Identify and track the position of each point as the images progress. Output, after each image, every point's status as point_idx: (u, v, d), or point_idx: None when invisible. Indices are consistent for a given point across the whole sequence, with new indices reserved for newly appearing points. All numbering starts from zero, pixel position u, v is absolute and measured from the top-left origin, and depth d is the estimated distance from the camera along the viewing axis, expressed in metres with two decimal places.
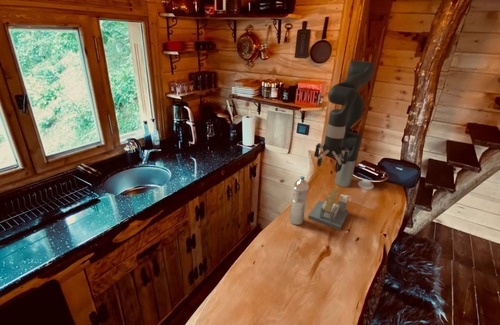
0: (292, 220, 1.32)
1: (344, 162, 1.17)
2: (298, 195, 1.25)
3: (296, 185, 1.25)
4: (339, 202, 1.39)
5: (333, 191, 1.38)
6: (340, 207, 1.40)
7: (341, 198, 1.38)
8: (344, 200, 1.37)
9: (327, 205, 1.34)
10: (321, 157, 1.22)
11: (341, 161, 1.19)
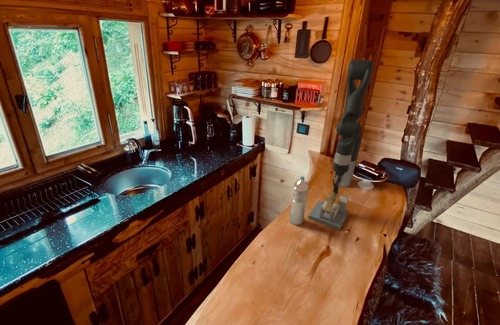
0: (292, 220, 1.32)
1: (341, 181, 1.39)
2: (298, 195, 1.25)
3: (296, 185, 1.25)
4: (339, 202, 1.39)
5: (333, 193, 1.39)
6: (340, 207, 1.40)
7: (341, 198, 1.38)
8: (344, 200, 1.37)
9: (327, 205, 1.34)
10: (339, 183, 1.37)
11: None
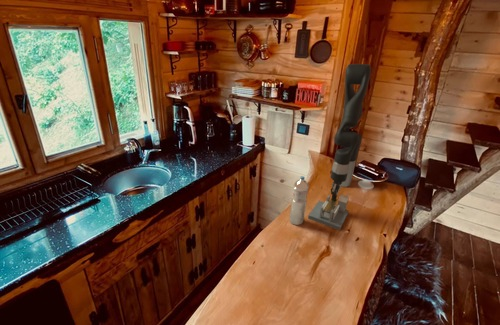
0: (292, 220, 1.32)
1: (339, 189, 1.40)
2: (298, 195, 1.25)
3: (296, 185, 1.25)
4: (339, 202, 1.39)
5: None
6: (340, 207, 1.40)
7: (341, 198, 1.38)
8: (344, 200, 1.37)
9: (327, 207, 1.35)
10: (337, 192, 1.39)
11: None
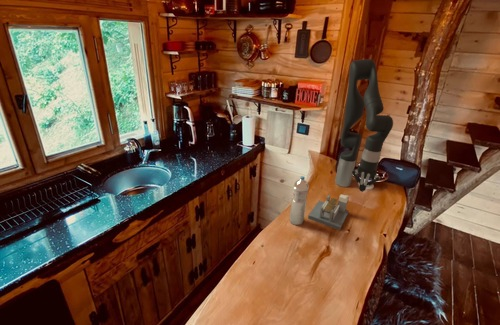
0: (292, 220, 1.32)
1: None
2: (298, 195, 1.25)
3: (296, 185, 1.25)
4: (339, 202, 1.39)
5: (332, 199, 1.42)
6: (340, 207, 1.40)
7: (341, 198, 1.38)
8: (344, 200, 1.37)
9: (327, 207, 1.35)
10: None
11: None
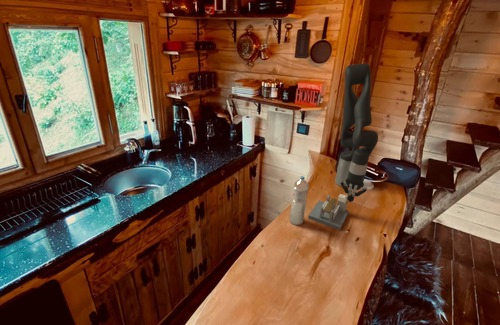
0: (292, 220, 1.32)
1: None
2: (298, 195, 1.25)
3: (296, 185, 1.25)
4: (339, 202, 1.39)
5: (332, 199, 1.42)
6: (340, 207, 1.40)
7: (340, 198, 1.38)
8: (343, 200, 1.38)
9: (327, 207, 1.35)
10: None
11: None
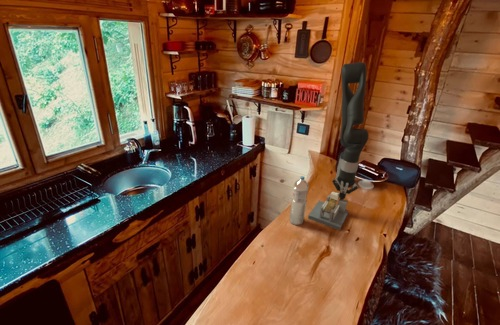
0: (292, 220, 1.32)
1: None
2: (298, 195, 1.25)
3: (296, 185, 1.25)
4: (339, 202, 1.39)
5: (332, 199, 1.42)
6: (340, 207, 1.40)
7: (332, 195, 1.40)
8: (335, 197, 1.39)
9: (327, 207, 1.35)
10: (344, 189, 1.38)
11: None
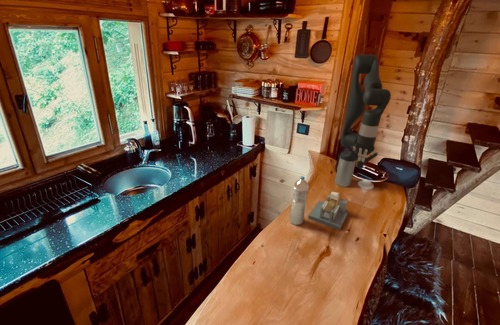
0: (292, 220, 1.32)
1: None
2: (298, 195, 1.25)
3: (296, 185, 1.25)
4: (339, 202, 1.39)
5: (332, 199, 1.42)
6: (340, 207, 1.40)
7: (332, 195, 1.40)
8: (335, 197, 1.39)
9: (327, 207, 1.35)
10: (361, 157, 1.30)
11: None
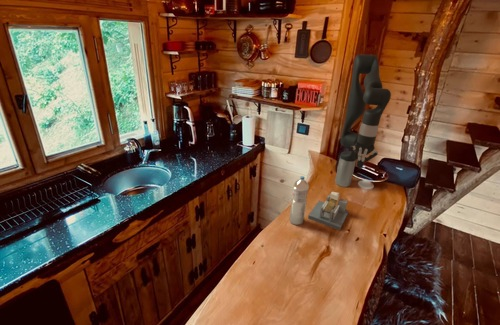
0: (292, 220, 1.32)
1: None
2: (298, 195, 1.25)
3: (296, 185, 1.25)
4: (339, 202, 1.39)
5: (332, 199, 1.42)
6: (340, 207, 1.40)
7: (332, 195, 1.40)
8: (335, 197, 1.39)
9: (327, 207, 1.35)
10: (361, 157, 1.30)
11: None
